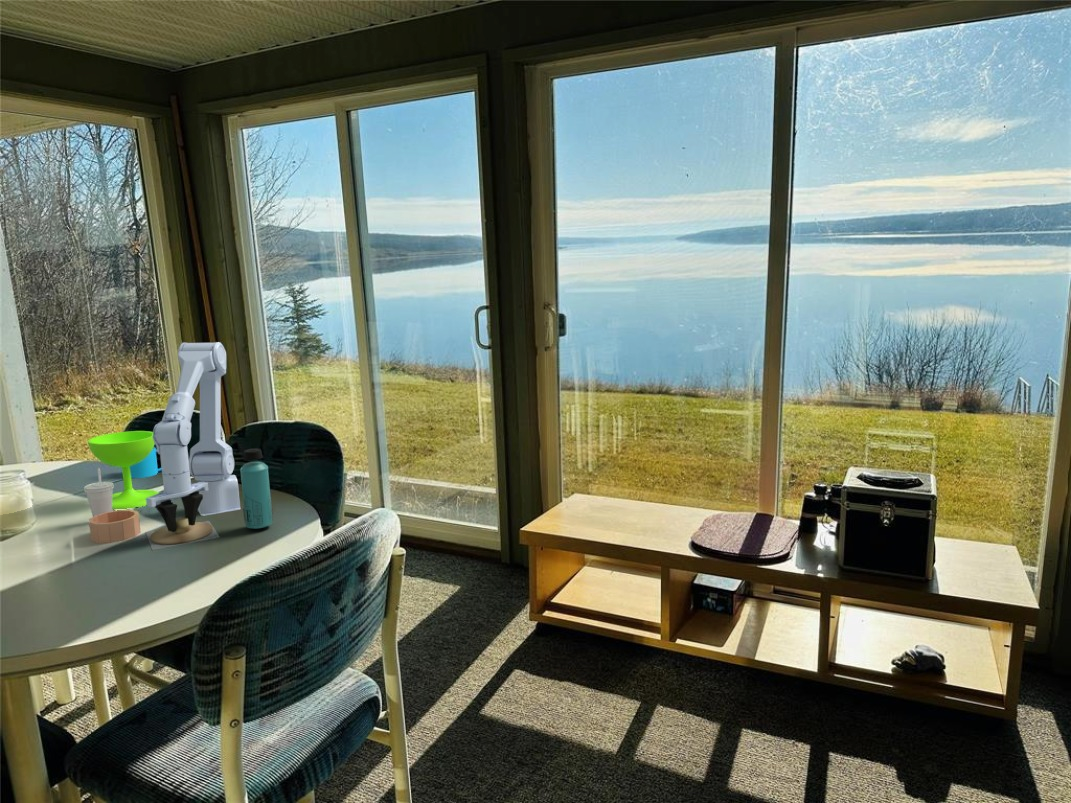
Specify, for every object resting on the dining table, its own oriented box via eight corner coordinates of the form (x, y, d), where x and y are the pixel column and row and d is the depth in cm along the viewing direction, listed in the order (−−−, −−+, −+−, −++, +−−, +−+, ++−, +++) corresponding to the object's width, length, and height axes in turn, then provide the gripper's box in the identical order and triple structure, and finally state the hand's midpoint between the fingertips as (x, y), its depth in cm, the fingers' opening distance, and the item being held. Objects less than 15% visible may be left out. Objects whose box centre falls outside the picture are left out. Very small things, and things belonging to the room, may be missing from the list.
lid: (207, 521, 176) (206, 506, 175) (217, 537, 165) (215, 521, 165) (148, 532, 169) (146, 517, 168) (154, 549, 158) (152, 533, 157)
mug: (128, 479, 216) (125, 453, 215) (128, 473, 223) (125, 448, 222) (172, 473, 222) (169, 448, 221) (170, 468, 229) (168, 443, 228)
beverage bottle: (279, 526, 173) (273, 447, 169) (261, 536, 167) (254, 453, 163) (257, 524, 175) (251, 445, 172) (238, 533, 169) (231, 451, 165)
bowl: (138, 526, 174) (136, 507, 173) (142, 538, 166) (140, 518, 165) (90, 535, 169) (88, 515, 168) (92, 548, 161) (89, 527, 160)
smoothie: (104, 527, 174) (97, 472, 172) (81, 525, 175) (74, 471, 173) (124, 518, 180) (117, 465, 178) (102, 517, 181) (95, 464, 179)
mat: (209, 522, 177) (209, 520, 177) (220, 539, 165) (219, 537, 165) (145, 534, 169) (145, 532, 169) (152, 552, 158) (152, 550, 157)
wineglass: (175, 493, 201) (168, 431, 198) (134, 511, 186) (126, 445, 182) (125, 491, 204) (118, 430, 201) (81, 509, 188) (72, 443, 185)
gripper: (192, 462, 173) (197, 516, 175) (135, 477, 160) (141, 534, 162) (211, 465, 169) (217, 520, 172) (154, 481, 157) (161, 539, 159)
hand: (181, 527), depth 167 cm, fingers open, 4 cm apart
